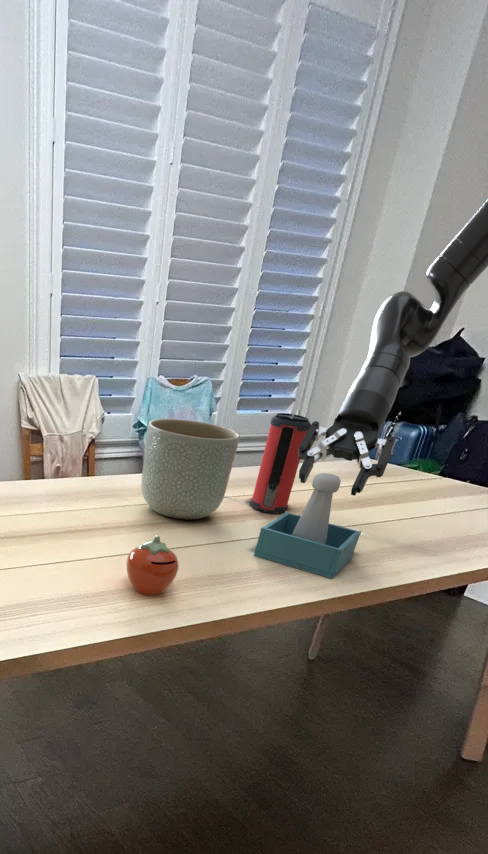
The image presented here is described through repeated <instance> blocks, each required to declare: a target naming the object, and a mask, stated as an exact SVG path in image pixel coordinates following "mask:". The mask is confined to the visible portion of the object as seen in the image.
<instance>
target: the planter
mask: <svg viewBox="0 0 488 854" xmlns="http://www.w3.org/2000/svg"><path fill="white" fill-rule="evenodd" d="M145 437H146V438H145V446H144V455H143V463H142V471H141V472H142V473H141V486H140V487H141V494H142V497H143V500H144V501H145V503H146V504H147V505H148V506H149V508H151V510H153V511H154V512H156V513H157V514H159V515H161V516H165V517H168V518H172V519H178V520H188V521H189V520H192V521H193V520H200V519H203V518H206V517H207V516H210V515H211V514H213V513H214V512H215V511H216V510H217V509H218V508H219V507H220V506H221V504H222V501H223V500H224V498H225V495H226V492H227V488H228V486H229V485H228V484H229V481H230V476H231V473H232V469H233V466H234V461H235V457H236V455H237V451H238V445H239V442H240V438H241V436H240V434H239V433H238V432H237V431H236V430H233V429H230V428H228V427H225V426H221V425H219V424H218V425H217V424H213V423H209V422H203V421H197V420H189V419H181V418H180V419H178V418H157V419H152V420H150V421H149V422H148V424H147V429H146V436H145Z"/></svg>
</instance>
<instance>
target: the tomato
mask: <svg viewBox="0 0 488 854" xmlns="http://www.w3.org/2000/svg"><path fill="white" fill-rule="evenodd" d="M179 566H180V564H179V560H178V556H177V555H176V554H175V552H173V550H171V549H170V548H169V547H168V546H167V544H166V543H164V542H162V541H161V537H160V536H159V535H155V536H154V537H153V539H152V540H148V541H146V542H144V543H143V544H141V545H138V546H136V547H134V548H133V549H131V551H130V552H129V554H128V555H127V557H126V574H127V577H128V580H129V583H130V584H131V586H132V587H133V588H134V590H135V591H136V592H138V593H139V594H141V595H144V596H149V597H151V596H152V597H155V596H159V595H160V594H161V593H163V592H165V591H166V590H167V589H168V588H169V587H170V586H171V585H172V584H173V582H174V581H175V579H176V577H177V575H178V571H179V569H180V567H179Z"/></svg>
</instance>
